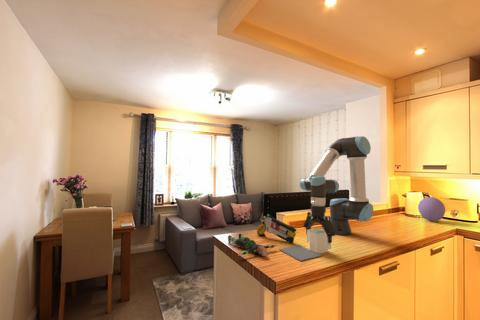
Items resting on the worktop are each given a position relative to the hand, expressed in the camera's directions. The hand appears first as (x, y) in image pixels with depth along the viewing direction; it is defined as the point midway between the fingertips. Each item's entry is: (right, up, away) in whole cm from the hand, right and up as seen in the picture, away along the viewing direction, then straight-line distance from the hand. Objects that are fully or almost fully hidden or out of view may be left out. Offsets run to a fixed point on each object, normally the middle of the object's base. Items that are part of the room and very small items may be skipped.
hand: (318, 244), depth 122 cm
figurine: (-37, -4, +4) cm, 38 cm away
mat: (-11, -3, -3) cm, 11 cm away
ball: (+117, -6, +66) cm, 134 cm away
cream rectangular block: (0, -3, 0) cm, 3 cm away
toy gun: (-20, -5, +21) cm, 29 cm away
